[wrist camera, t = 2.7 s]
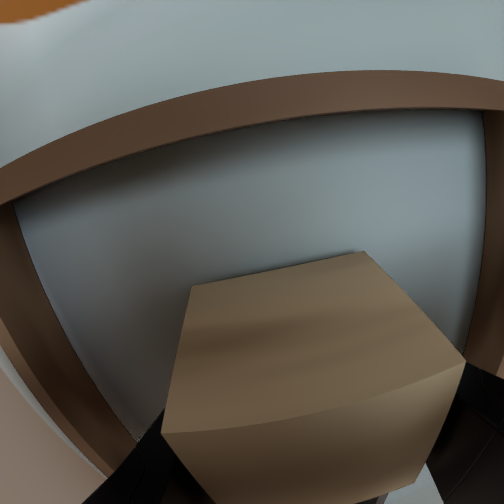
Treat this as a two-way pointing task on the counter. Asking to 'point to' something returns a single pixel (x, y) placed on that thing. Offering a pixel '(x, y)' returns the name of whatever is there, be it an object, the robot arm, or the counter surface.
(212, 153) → the counter surface
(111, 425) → the cubby
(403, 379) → the beech cube
